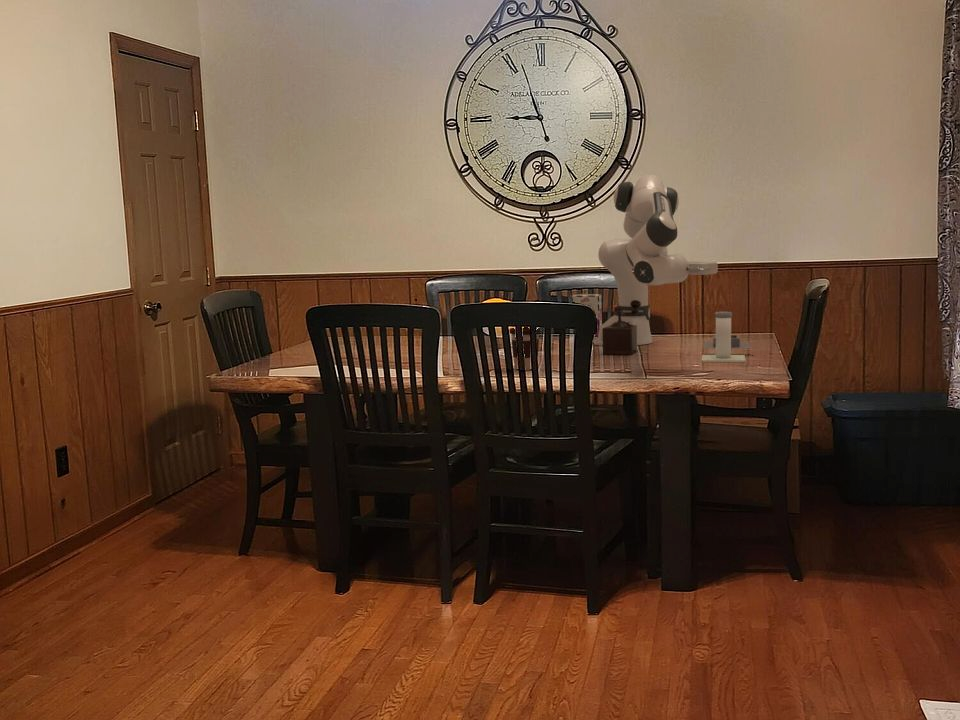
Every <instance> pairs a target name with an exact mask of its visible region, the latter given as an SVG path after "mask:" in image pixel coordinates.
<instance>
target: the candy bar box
mask: <svg viewBox="0 0 960 720" xmlns="http://www.w3.org/2000/svg"><path fill="white" fill-rule="evenodd" d="M572 302H575V303H581V304H585V305H589V306H591V307H592V308H593V310H594V311H595V314H596V318H597V333H596V336H595V337H598V333H599V329H600V327H601V325H603V318H602V317H603V313H602V308H603V307H602V294H601V293H600V294H597V293H596V294H593V293H592V294H589V293H588V294H573V295H572V296H571V303H572Z"/></svg>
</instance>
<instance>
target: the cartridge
mask: <svg viewBox="0 0 960 720" xmlns="http://www.w3.org/2000/svg"><path fill="white" fill-rule="evenodd" d="M714 317H715V335H716V348H715V354H716V358H730V357H731V354H732V349H731V335H732V317H733V312H732V311H716V312H715V313H714Z"/></svg>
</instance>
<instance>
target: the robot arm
mask: <svg viewBox="0 0 960 720" xmlns="http://www.w3.org/2000/svg"><path fill="white" fill-rule="evenodd" d="M679 200H680V199H679V195H678V192H677V190H676V189H674V188H672V187H670V186H667V187H665V185H664V183H663V181H662V179H661V178H660V177H658V176H657V175H654V174H646V175H643V176H641V177H640V178H639V179H638V180H637V181H636V182H631V181H623V182H621V183H619V184H618V185H617V187H616V189H615V190H614V193H613V203H614V207H615V208H616V210H617V211H619V212H622V213H625V217H624V221H623V230H624V232H625V233H626V235H628V237H629V238H616V239H615V238H614V239H610V240H607V241H606V240H605V241H603V243H602V244H601V245H600V247H599V249H598V261H599V262H600V264H601V265H602V266H603V267H604V268H605V269H607V270H608V272H610V273H611V275H612V276H613V277H614V280H615V282H616V287H617V297H618V299H617V300H618V304H617V305H616V304H615V305H613V307H612V316H611V317H610V318H608V319H607V320H606V321H605V322H604V323H602V325H601V327H600V329H599V333H598V336H597V338H594V339H595V340H594V339H593V340H594V344H593V345H595V346H603V331H602V329H603V328H605V327H607V326H609V325H611V324H612V323H614V322H617V321H618V312H617V310H618V309H617V307H618V306H620V307H621V312H625V313H631V311H632V307H631V305H630V303H631V301H633V300H638V301H640V302H641V306H640V307H639V309H638V310H639V313H636V314H631V315H622V314H621V321H625V322H627V323H628V322H629V321H630V322H629V324H630V325H637V346H643V345H648V344H652V343H653V342H654V340H653V338H652V333H651V327H650V319H651V312H650V311H651V309H650V304H649V286H660V285H661V286H662V285H664V284H677V283H682V282H684V281H685V280H686V279H687V278H688V276H689V275H697V276H699V275H700V276H701V275H702V276H703V275H705V276H706V275H716V274H717V273H718V269H719V267H718V265H719V264H718V262H716V261H699V260H697V261H695V260H694V261H692V260H688V259H687V258H686V257H685V256H684V255H682V254H679V253H678V254H677V253H675V254H668V246H669V245H671V244H672V243H673V242H674V241H675V240H676V239H677V238H678V227H677V223H676V222H675V221H674V215H675V213H676V212H677V210H678V207H679V203H680V202H679Z"/></svg>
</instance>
